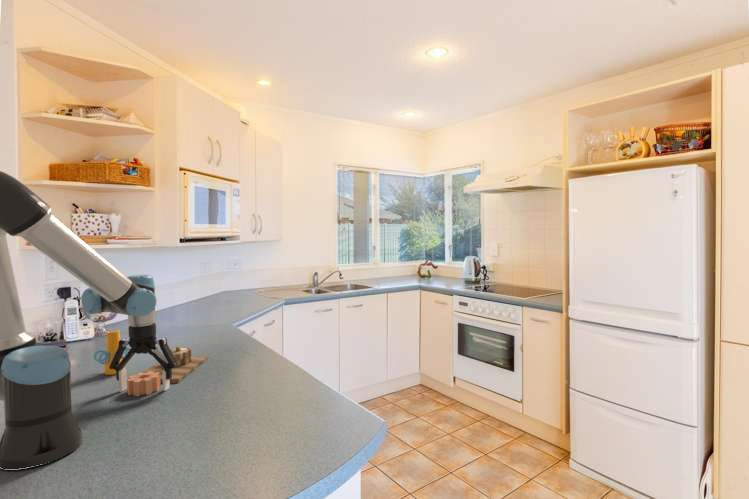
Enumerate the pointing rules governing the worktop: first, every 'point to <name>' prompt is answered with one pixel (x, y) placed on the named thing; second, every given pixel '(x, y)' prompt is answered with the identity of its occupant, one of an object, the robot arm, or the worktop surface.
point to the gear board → (178, 370)
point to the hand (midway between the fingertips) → (144, 389)
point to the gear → (143, 383)
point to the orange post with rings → (110, 351)
